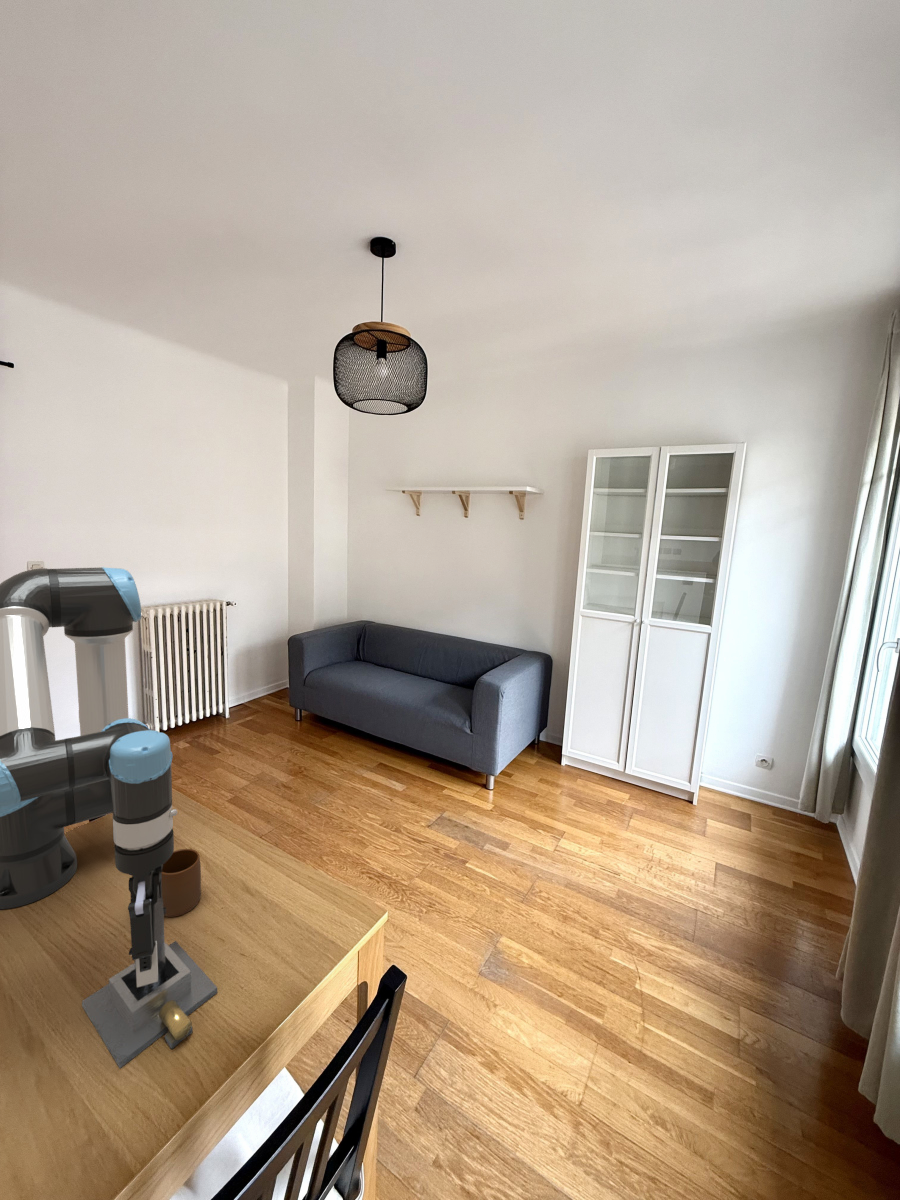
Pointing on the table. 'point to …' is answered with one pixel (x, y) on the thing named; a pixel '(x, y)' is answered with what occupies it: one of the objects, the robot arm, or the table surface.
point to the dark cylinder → (159, 937)
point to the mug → (181, 882)
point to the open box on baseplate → (149, 1006)
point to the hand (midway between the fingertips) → (150, 968)
